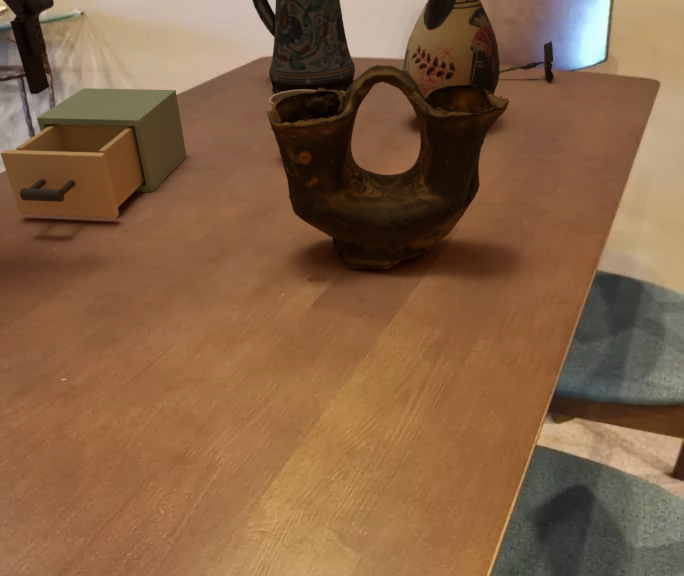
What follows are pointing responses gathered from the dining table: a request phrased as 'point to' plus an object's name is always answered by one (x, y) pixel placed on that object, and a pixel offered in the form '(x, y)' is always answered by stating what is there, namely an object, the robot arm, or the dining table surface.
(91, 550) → the dining table surface
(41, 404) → the dining table surface
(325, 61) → the beer stein
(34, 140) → the drawer
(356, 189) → the pottery vessel
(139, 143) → the cabinet
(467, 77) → the ceramic jug
